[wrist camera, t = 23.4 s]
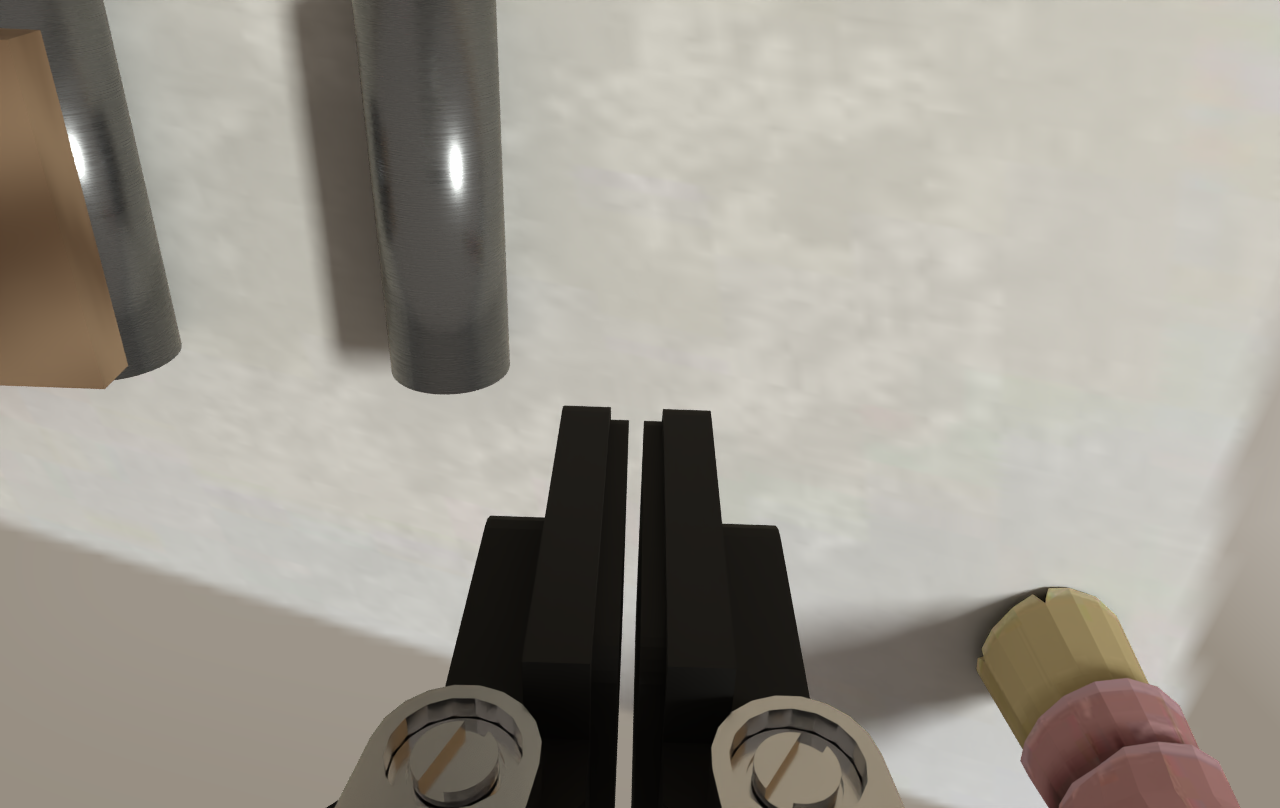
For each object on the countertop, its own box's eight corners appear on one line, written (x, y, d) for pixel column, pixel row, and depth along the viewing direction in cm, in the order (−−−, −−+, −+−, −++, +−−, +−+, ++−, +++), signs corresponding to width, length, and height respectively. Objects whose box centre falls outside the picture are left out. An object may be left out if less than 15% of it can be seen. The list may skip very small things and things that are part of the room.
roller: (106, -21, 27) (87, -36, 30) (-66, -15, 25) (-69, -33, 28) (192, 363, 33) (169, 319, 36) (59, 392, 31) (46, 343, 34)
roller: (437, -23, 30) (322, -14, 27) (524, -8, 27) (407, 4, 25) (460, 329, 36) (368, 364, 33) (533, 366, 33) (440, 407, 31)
